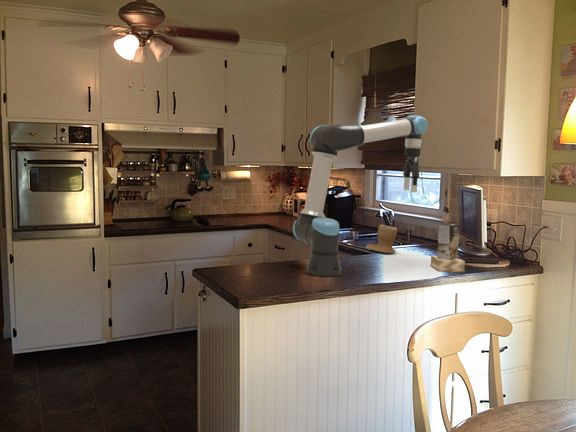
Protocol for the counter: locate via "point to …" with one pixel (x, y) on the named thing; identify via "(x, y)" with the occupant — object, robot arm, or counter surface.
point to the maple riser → (447, 264)
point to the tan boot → (384, 239)
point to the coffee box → (448, 241)
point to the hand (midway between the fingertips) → (409, 191)
